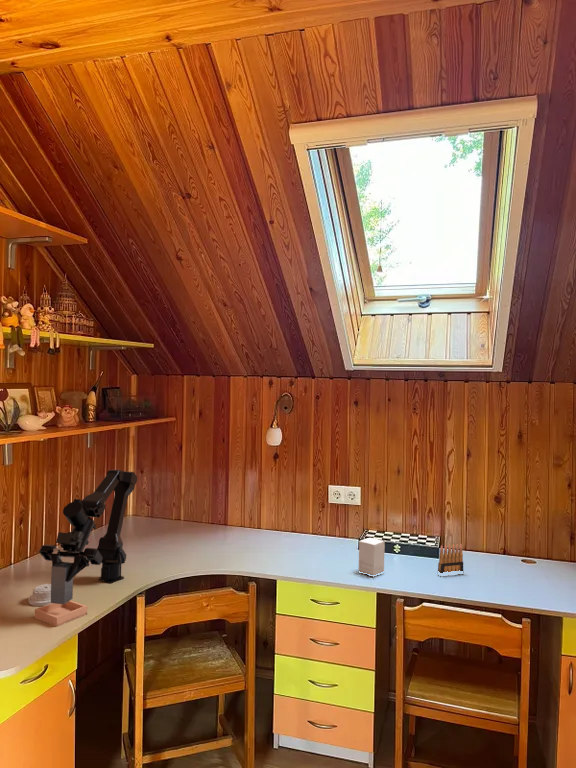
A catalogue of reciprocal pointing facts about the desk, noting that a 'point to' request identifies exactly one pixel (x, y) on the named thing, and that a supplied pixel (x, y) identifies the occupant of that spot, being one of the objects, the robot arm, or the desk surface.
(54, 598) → the graphite square block
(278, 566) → the desk surface
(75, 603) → the terracotta bin
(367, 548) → the supplement box
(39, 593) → the mechanical component
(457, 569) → the ammunition clip
